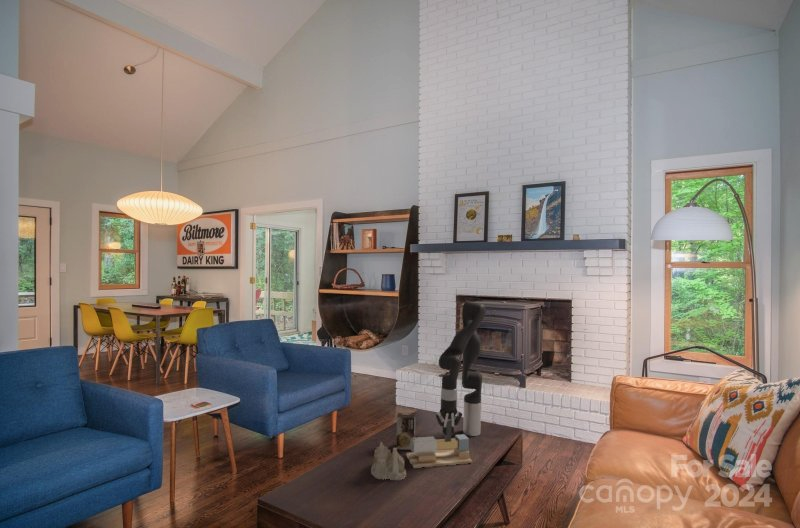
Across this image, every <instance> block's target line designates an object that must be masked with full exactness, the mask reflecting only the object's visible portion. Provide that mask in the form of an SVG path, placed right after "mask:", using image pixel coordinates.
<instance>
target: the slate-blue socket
mask: <svg viewBox="0 0 800 528" xmlns="http://www.w3.org/2000/svg"><path fill="white" fill-rule="evenodd" d="M454 438H457V439H458V440H459V448H453V449H454V453H455V454H456V455H457V456H458V457H459V459H465V458H470V457H471V456H470V454H471V453H470V451H469V450H470V439H469V437H468V435H466V434H464V433H462V434H455V435H454ZM470 459H471V458H470Z"/></svg>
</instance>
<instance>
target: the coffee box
mask: <svg viewBox="0 0 800 528" xmlns="http://www.w3.org/2000/svg"><path fill="white" fill-rule="evenodd" d="M411 438H416V413H412V412H409V413H408V412H397V414H396V438H395V439H396V445H395V446H396V447H395V448H397V450H407V451H411Z"/></svg>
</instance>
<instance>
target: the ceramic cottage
mask: <svg viewBox="0 0 800 528" xmlns="http://www.w3.org/2000/svg"><path fill="white" fill-rule="evenodd" d="M391 451H392V452H391ZM373 455H374V458H373V464H372V465H371V467H370V474H371V475H373V476H374V478H375V479H378V480H381V479H382V480H381V481H387V480H386V479H390V480H389V481H403V480H405V479H406V478H407V476H406V475H407V469H405V459H404V458H403V457H402V456H401V454H400V453H399V452H398V449H397V448H396V447H393V448H392V450H391V449H389V447H388V446H385V444H384V443H383V442H382V441H380V442H379V446H376V449H374V454H373ZM373 476H372V477H373ZM405 477H406V478H405ZM404 478H405V479H404ZM384 479H385V480H384ZM402 479H403V480H402Z"/></svg>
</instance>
